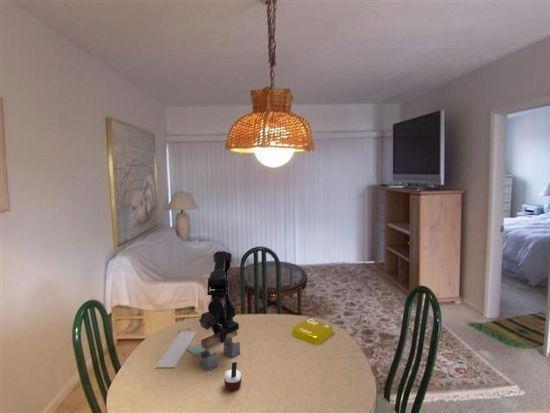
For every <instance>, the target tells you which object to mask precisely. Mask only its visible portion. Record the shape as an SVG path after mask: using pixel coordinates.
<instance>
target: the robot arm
mask: <svg viewBox="0 0 550 413" xmlns="http://www.w3.org/2000/svg"><path fill="white" fill-rule="evenodd" d="M212 260H213V263H214V270H213V271H211V272H210V275H209V277H208V278H207V291H206V292H207V293H206V294H207V296H211V297H210V300H209V302H208V307H207V309H208V311H206V312H203V313H201V316H200V318H199V319H198V322H199V324H200V326H201V328H202V329H205V330H210V329H211V330H212V333H213V335H214V334H216V333H219V332H220V339H221V343H223V342H224V341H225V338H226V336H227V334H229V333H231V332H233V331H236V330H237V331H238V330H239V328H240V324H239V322H237V321H234V317H235V316H236V314H237V313H236V311H237V310H236V307H235V305H234V304H233V300H232V298H231V297H230V288H229V285H230V280H229V270H230V268H231V266H232V264H231V263H233V255H232V252H228V251H226V250H223V251H222V250H221V251H219V250H217V251H216V252H215V253H213V259H212ZM223 344H224V343H223Z"/></svg>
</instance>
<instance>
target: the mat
mask: <svg viewBox="0 0 550 413" xmlns="http://www.w3.org/2000/svg"><path fill="white" fill-rule="evenodd" d="M220 344H221V345H222V343H219V344H217V345H215V346H213V347H211V348H209V350H210V351H211V350H212V349H214V348H216V347H218V346H220ZM223 344H224V342H223ZM204 350H205V349H204V348H202V346H201V342H200V343H198V344H194V345H193V346H191V347H190V346H189V347H188V349H187V350H186V352H188V353H190V354H191V353H192V355H194V356H195V357H197V356H200V352H201V351H204Z"/></svg>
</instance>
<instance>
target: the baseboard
mask: <svg viewBox="0 0 550 413" xmlns="http://www.w3.org/2000/svg"><path fill="white" fill-rule="evenodd" d="M197 335H198V332H197V329H196V330H195V331H191V329H190V328H186V329H185V331H184V330H181V332H178V335H177V336H176V337H175V339H174V340H173V341H172V343H171V344H170V345H169V347H168V348H167V350H166V351H165V352H164V354H163V356H162V357H161V358H160V359H159V361H158V362H157V363H156V365H154V368H153V369H155V370H156V369H157V370H159V369H160V370H175V369H176V368H177V367H176V366H178V365H179V363H180V362H181V360H182V359H183V356H184V355H185V354H186V352H187V349H188V348H190V346H191V344H192V342H193V341H194V339H195V338H196V336H197ZM189 345H190V346H189ZM184 353H185V354H184ZM179 361H180V362H179Z"/></svg>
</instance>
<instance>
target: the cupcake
mask: <svg viewBox="0 0 550 413" xmlns="http://www.w3.org/2000/svg"><path fill="white" fill-rule="evenodd" d="M237 366H238V362H237V361H234V362H232V363H231V369H228V370H225V371H224V374H223V376H224V379H223V380H224V382H223V383H224V385H225V387H226V388H227V390H229V391H234V390H235V391H236V390H238V389H240V387H241V383H242V372H241V371H239V370H238V368H237Z"/></svg>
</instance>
